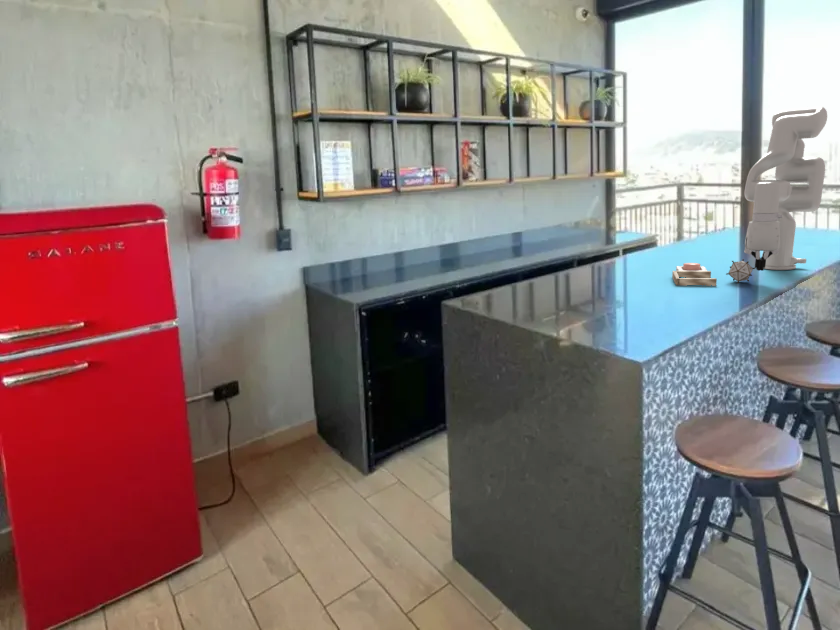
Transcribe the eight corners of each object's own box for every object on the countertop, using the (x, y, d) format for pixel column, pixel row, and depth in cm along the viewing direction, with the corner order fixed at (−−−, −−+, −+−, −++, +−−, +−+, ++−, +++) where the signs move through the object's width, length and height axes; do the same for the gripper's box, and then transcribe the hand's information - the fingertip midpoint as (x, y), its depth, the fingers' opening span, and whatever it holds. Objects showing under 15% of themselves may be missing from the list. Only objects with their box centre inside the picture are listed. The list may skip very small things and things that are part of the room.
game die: (745, 292, 209) (761, 273, 202) (721, 285, 210) (737, 265, 203) (743, 276, 215) (759, 257, 208) (721, 269, 216) (735, 249, 208)
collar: (703, 272, 230) (704, 266, 229) (707, 277, 221) (707, 270, 220) (676, 272, 233) (676, 266, 232) (678, 277, 224) (678, 270, 223)
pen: (710, 277, 220) (710, 271, 219) (716, 285, 206) (716, 279, 205) (672, 277, 224) (672, 270, 224) (675, 285, 210) (676, 278, 209)
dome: (698, 270, 228) (699, 262, 227) (700, 273, 223) (701, 265, 222) (682, 270, 230) (682, 262, 229) (683, 273, 225) (684, 265, 224)
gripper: (786, 216, 204) (780, 268, 208) (738, 217, 208) (734, 268, 213) (792, 218, 197) (786, 272, 201) (743, 219, 201) (738, 271, 206)
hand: (759, 269), depth 207 cm, fingers closed
